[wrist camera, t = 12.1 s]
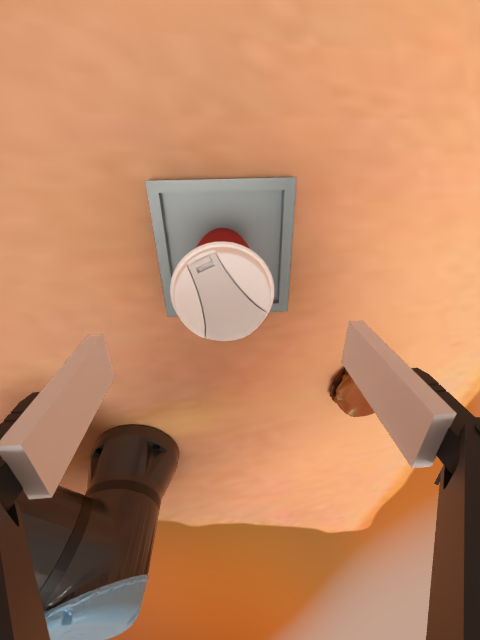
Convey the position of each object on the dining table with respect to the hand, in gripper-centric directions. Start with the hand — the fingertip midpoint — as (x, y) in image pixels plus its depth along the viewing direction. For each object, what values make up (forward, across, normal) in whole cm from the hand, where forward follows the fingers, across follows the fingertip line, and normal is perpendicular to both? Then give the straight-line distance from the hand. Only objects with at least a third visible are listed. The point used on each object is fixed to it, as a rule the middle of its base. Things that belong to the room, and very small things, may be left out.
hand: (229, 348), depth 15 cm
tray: (+22, 0, 0) cm, 22 cm away
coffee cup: (+21, 0, 0) cm, 21 cm away
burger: (+22, +22, -23) cm, 39 cm away
